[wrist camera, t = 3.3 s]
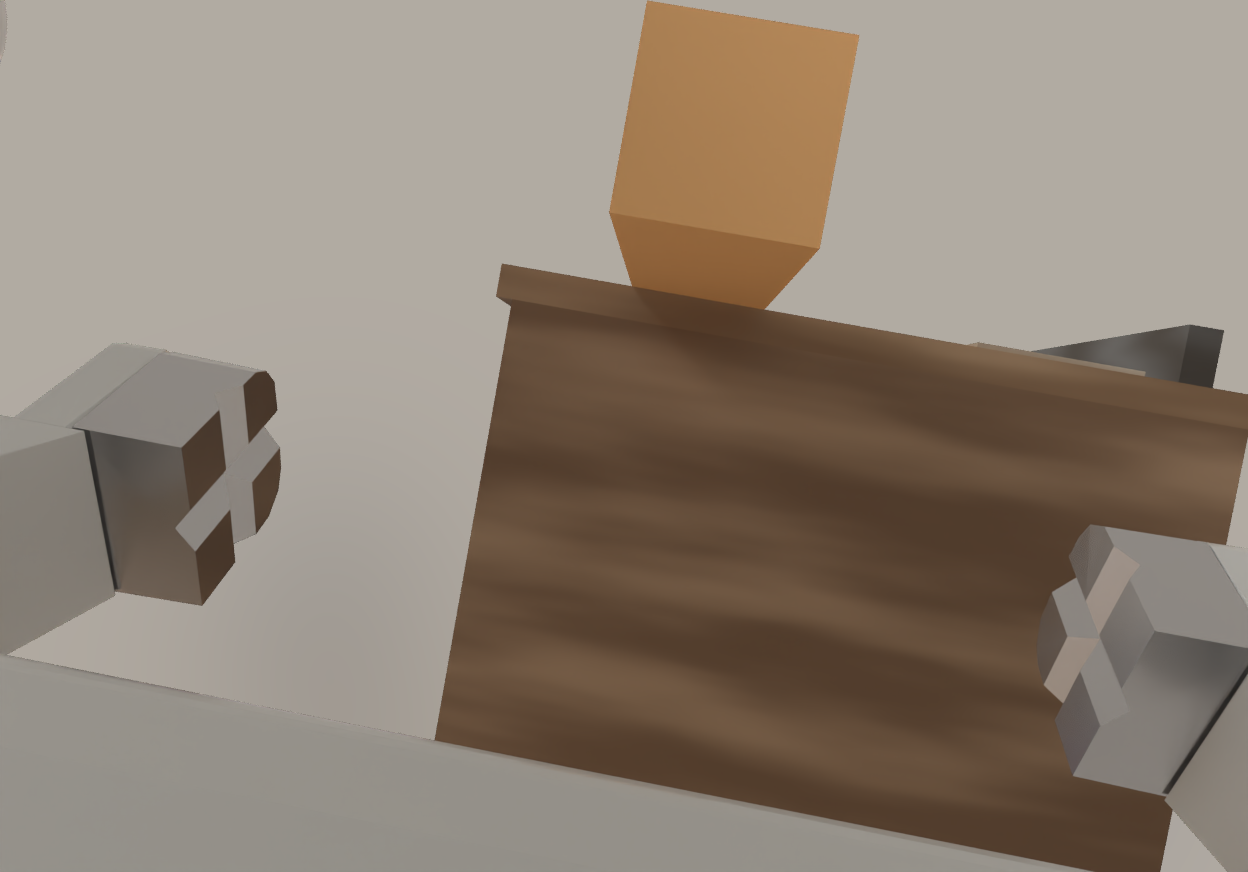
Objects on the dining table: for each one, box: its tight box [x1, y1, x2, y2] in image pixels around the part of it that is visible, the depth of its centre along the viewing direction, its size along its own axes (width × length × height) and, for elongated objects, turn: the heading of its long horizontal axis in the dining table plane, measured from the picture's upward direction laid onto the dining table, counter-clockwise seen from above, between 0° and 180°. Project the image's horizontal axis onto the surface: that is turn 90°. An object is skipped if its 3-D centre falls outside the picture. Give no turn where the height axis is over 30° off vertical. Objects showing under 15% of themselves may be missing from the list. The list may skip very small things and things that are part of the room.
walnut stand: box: [435, 264, 1248, 872], centre depth 38 cm, size 16×23×28 cm
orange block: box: [609, 1, 859, 310], centre depth 32 cm, size 28×4×4 cm, turn 177°
